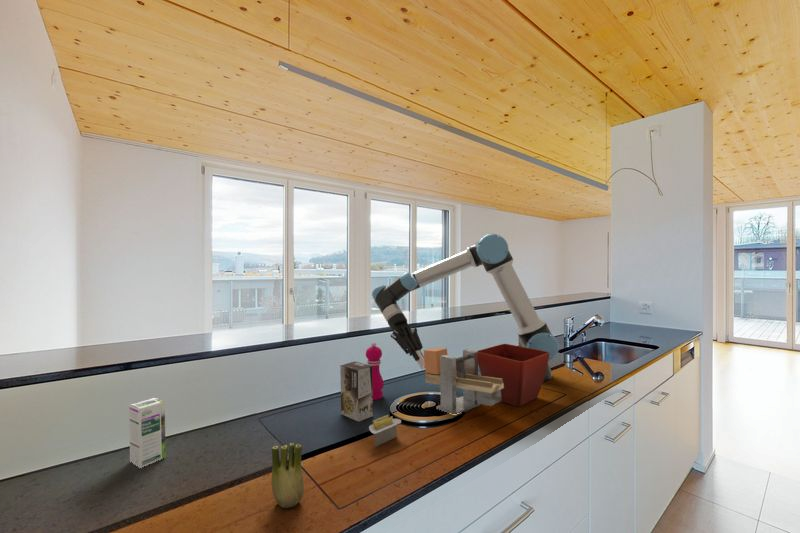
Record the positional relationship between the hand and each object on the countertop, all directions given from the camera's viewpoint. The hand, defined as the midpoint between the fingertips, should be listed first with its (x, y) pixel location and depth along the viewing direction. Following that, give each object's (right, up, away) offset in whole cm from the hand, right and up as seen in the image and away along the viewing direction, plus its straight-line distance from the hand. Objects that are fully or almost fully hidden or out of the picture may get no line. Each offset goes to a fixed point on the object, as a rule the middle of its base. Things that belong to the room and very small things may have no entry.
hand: (424, 366), depth 135 cm
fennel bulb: (-32, -11, -62) cm, 70 cm away
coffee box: (-23, -10, -19) cm, 32 cm away
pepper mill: (-19, -10, -3) cm, 22 cm away
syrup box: (-72, -11, -45) cm, 86 cm away
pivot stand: (+11, -10, -12) cm, 19 cm away
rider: (+4, -2, -5) cm, 7 cm away
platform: (-14, -11, -36) cm, 40 cm away
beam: (+12, -6, -13) cm, 19 cm away
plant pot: (+32, -10, -5) cm, 33 cm away
